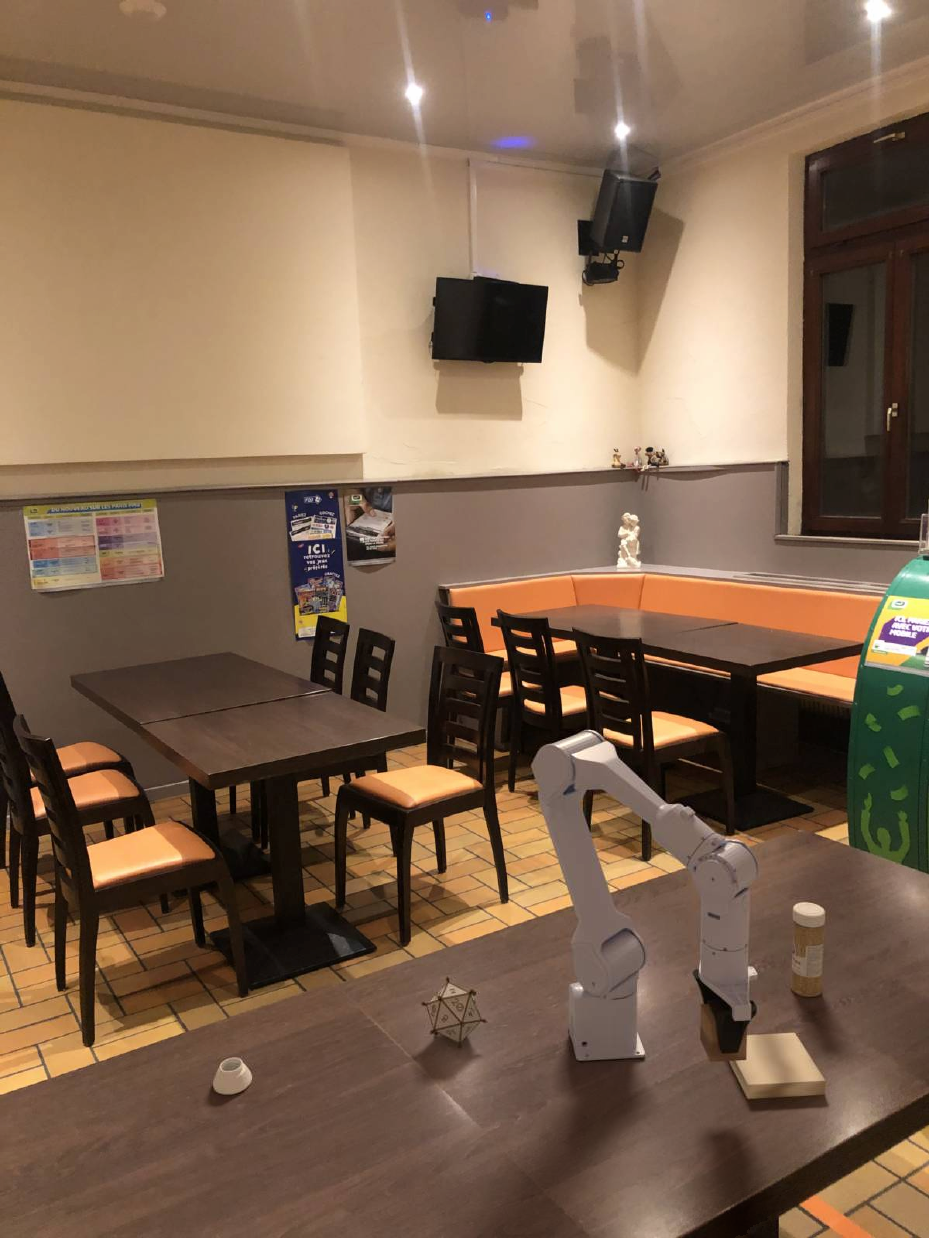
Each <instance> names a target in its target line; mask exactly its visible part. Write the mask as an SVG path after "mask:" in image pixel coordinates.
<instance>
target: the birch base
mask: <svg viewBox="0 0 929 1238" xmlns="http://www.w3.org/2000/svg"><path fill="white" fill-rule="evenodd" d="M728 1062H729V1064H730V1067H731V1069H732V1071H733V1072H734V1075H735V1076H736V1078H737V1080H738V1082H739V1085H740V1086H741V1088H742V1090H743V1093H744V1094H745V1096H746V1098H747V1100H752V1099H771V1098H786V1097H787V1098H789V1097H804V1096H806V1097H808V1096H823V1095H825V1094H826V1079H825V1078H824V1076H823V1075H822V1073H821V1071H820V1070H819V1068H818V1067H817V1065H816V1064H815V1062H814V1060H813V1059H812V1057H811V1056H810V1054H809V1053H808V1051H807V1050H806V1048H805V1047H804V1045H803V1043H802V1041H801V1040H800V1039H799V1037H798V1036H797V1034H796V1032H786V1033H785V1032H782V1033H763V1034H747V1055H746V1060H739V1061H728Z"/></svg>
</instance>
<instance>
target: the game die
mask: <svg viewBox="0 0 929 1238" xmlns="http://www.w3.org/2000/svg"><path fill="white" fill-rule="evenodd" d="M445 981H446V983H445V985H443V986H442V987H441V988H440V989H439V990H438V991H437V992H436V993H435V994H434V995H433V997H431V998H430V1000H428V1002H427V1003H426V1002H425V1001H422V1002H420V1004H421V1006H423V1007H426V1010H427V1013H428V1016H429V1019H430V1023H431V1026H432V1029H431V1030H430V1032H429V1035H434V1036H438V1035H441V1036H443V1037H444V1038H446V1039H448V1040H451V1041H453V1042H455V1043H457V1044H458V1045H457V1046H458V1047H457V1048H458V1049H459V1050H460V1051H462V1049H463V1045H462V1042H463V1041H464V1040H465V1039H466V1038H467V1037H468V1036H469V1035H470V1033H472V1032H473V1031H474V1029H476V1027H477V1026H478V1025H480V1023H481V1022H482V1023H483V1024H486V1023H488V1020H487V1019H486V1018H482V1016H481V1013H480V1010H479V1007H478V1004H477V1001H476V999H475V996H476V995H477V992H478V991H475V989H474V988H471V989H470V990H466V989H464V988H462V987H460V986H458V985H456V984H454V983H452V982H451V981H450V977H449V976H448V975H446V978H445Z"/></svg>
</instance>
